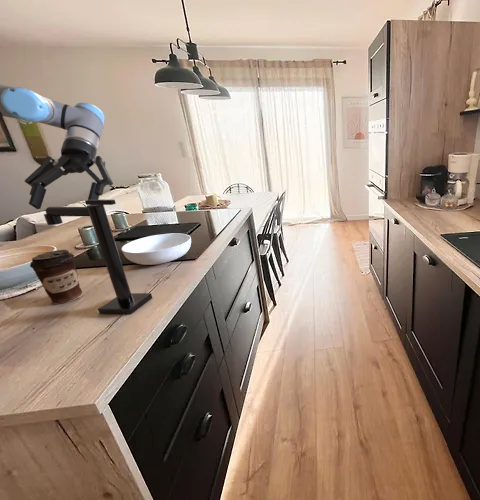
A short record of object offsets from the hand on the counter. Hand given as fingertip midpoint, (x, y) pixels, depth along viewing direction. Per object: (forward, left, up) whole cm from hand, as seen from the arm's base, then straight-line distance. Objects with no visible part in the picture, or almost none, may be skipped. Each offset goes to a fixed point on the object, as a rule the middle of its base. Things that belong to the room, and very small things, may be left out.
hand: (63, 205), depth 79 cm
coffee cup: (+2, -10, -24) cm, 26 cm away
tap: (+18, -13, -24) cm, 32 cm away
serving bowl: (+10, +18, -24) cm, 32 cm away
